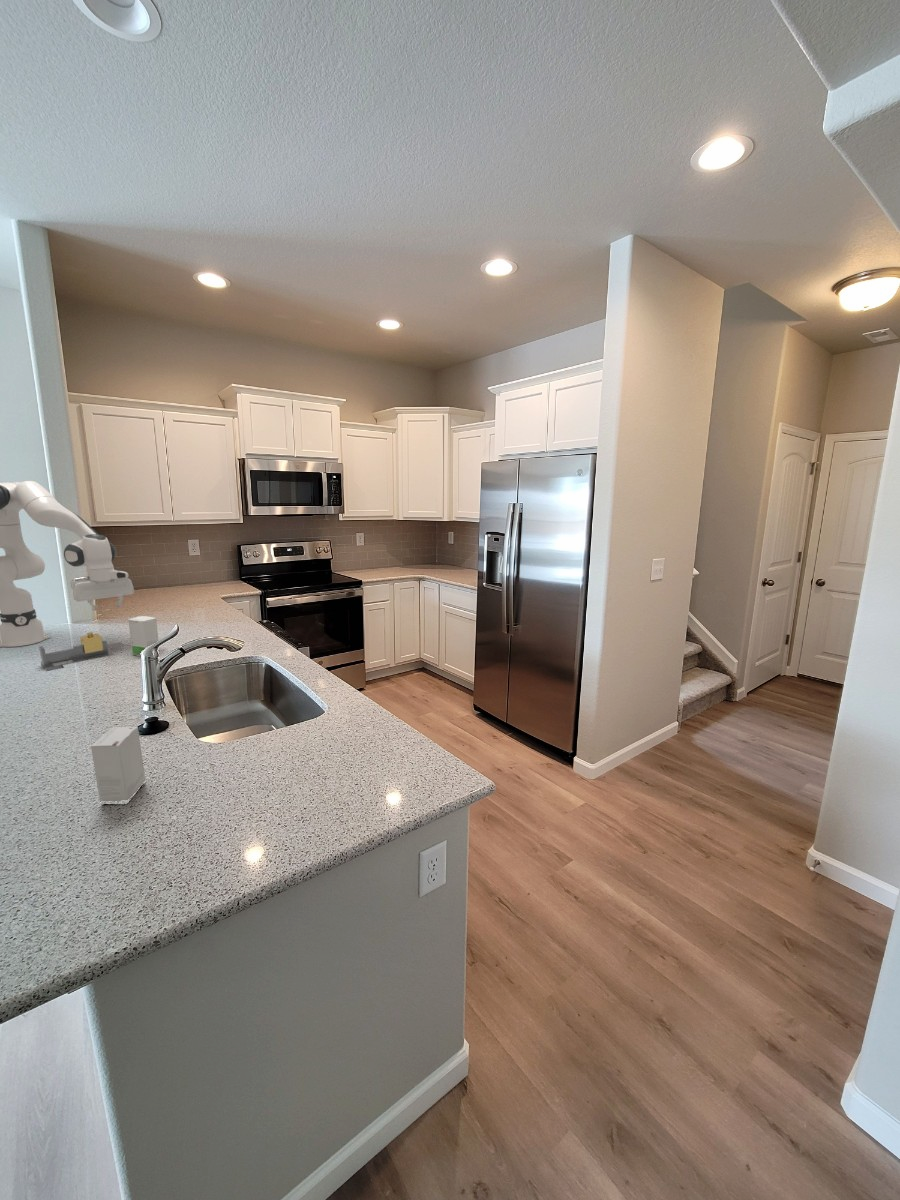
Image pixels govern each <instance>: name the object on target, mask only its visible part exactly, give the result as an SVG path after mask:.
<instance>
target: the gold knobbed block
mask: <svg viewBox="0 0 900 1200" xmlns="http://www.w3.org/2000/svg"><path fill="white" fill-rule="evenodd" d="M93 633H94V632H87V633H86V634H87V635H82V636H79V638H80V645H83V646H84V652H85V654H86V653H91V652H96V651H101V650H103V646H102V641H103V640H102V636H101V635H100V634H99V633H94V634H93Z"/></svg>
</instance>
